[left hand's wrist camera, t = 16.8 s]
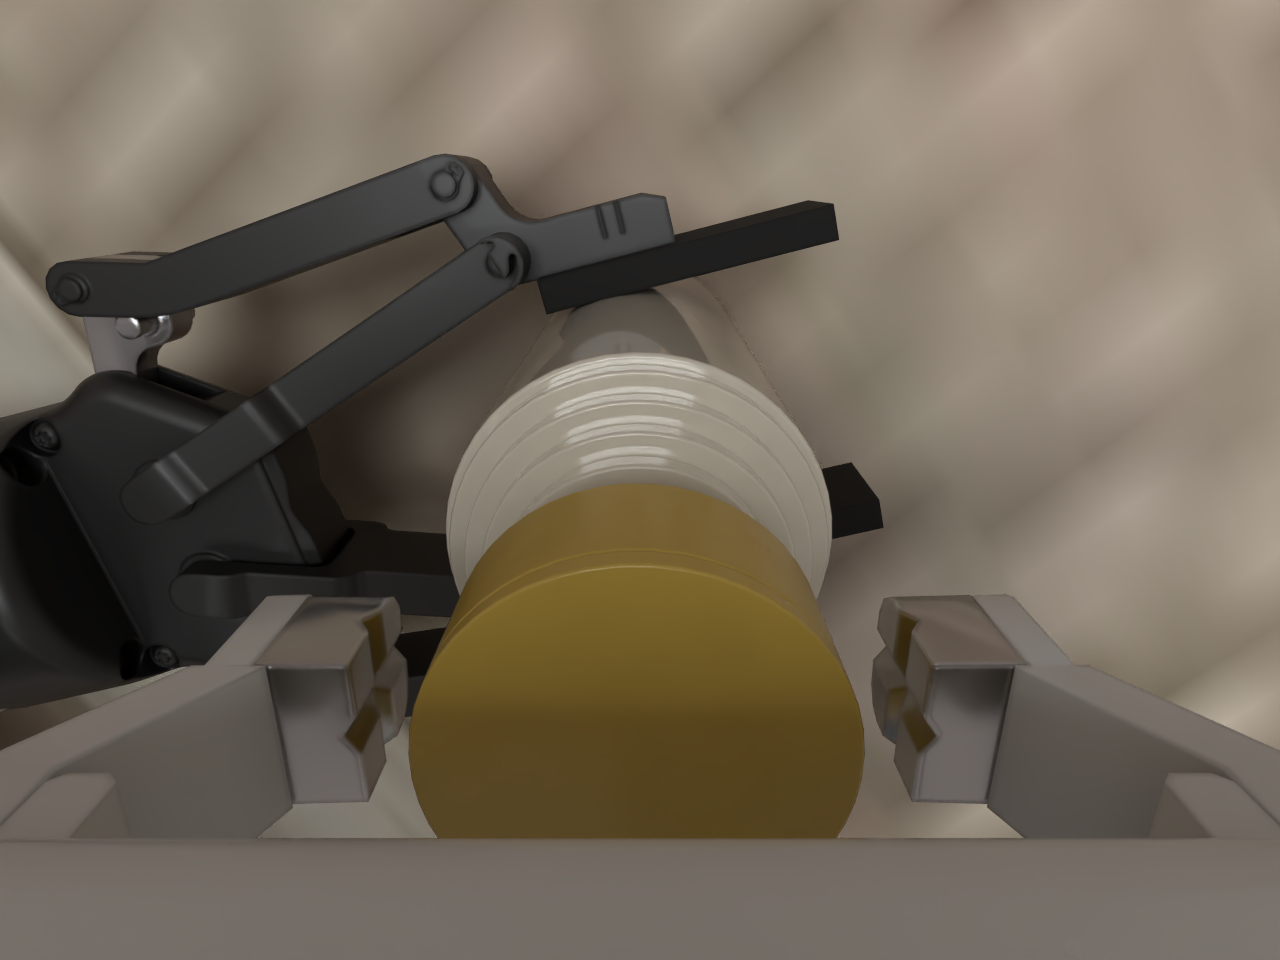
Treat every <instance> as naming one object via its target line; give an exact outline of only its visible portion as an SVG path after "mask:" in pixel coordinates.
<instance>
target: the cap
mask: <svg viewBox="0 0 1280 960" xmlns="http://www.w3.org/2000/svg"><path fill="white" fill-rule="evenodd" d="M864 756H865V748H864V728H863V724H862V719H861V714H860V709H859V705H858V702H857V699H856V697H855V694H854V692H853V689H852V686H851V684H850V681H849V679H848V676H847V674H846V671H845V669H844V667H843V664H842V662H841V659H840V657H839V654H838V652H837V650H836V647H835V645H834V642H833V640H832V637H831V635H830V632H829V630H828V628H827V625H826V623H825V620H824V618H823V615H822V613H821V611H820V608H819V606H818V603H817V601H816V598H815V596H814V593H813V591H812V589H811V586H810V584H809V582H808V580H807V578H806V576H805V575H804V573H803V571H802V569H801V568H800V566H799V564H798V563H797V561H796V560H795V559H794V557H793V556H792V555H791V554H790V552H789V551H788V550H787V548H786V547H785V546H784V545H783V544H782V543H781V542H780V541H779V540H778V539H777V538H776V537H775V536H774V535H773V534H772V533H771V532H770V531H769V530H768V529H767V528H765V527H764V526H763V525H761V524H760V523H758V522H757V521H756V520H754V519H753V518H752V517H750V516H749V515H747V514H746V513H744V512H742V511H740V510H738V509H737V508H735V507H733V506H731V505H729V504H727V503H725V502H723V501H720V500H718V499H715V498H713V497H710V496H708V495H705V494H702V493H699V492H695V491H691V490H687V489H683V488H679V487H674V486H665V485H657V484H617V485H609V486H601V487H595V488H591V489H587V490H583V491H580V492H576V493H572V494H569V495H567V496H564V497H562V498H559V499H557V500H554V501H552V502H549V503H547V504H545V505H543V506H542V507H540V508H538V509H536V510H534V511H533V512H531V513H529V514H527V515H526V516H524V517H523V518H522V519H520V520H519V521H518V522H516V523H515V524H514V525H512V526H511V527H509V528H508V529H507V530H506V531H505V532H504V533H503V534H502V535H501V536H500V537H499V538H498V539H497V540H496V541H495V542H494V543H493V544H492V545H491V546H490V547H489V548H488V549H487V551H486V552H485V553H484V555H483V556H482V557H481V559H480V560H479V561H478V562H477V564H476V566H475V567H474V569H473V571H472V573H471V575H470V576H469V578H468V580H467V582H466V584H465V586H464V588H463V591H462V593H461V595H460V598H459V600H458V602H457V604H456V607H455V609H454V611H453V614H452V616H451V618H450V621H449V623H448V625H447V627H446V630H445V632H444V634H443V637H442V639H441V641H440V643H439V646H438V648H437V650H436V653H435V655H434V657H433V660H432V662H431V664H430V667H429V669H428V671H427V673H426V676H425V678H424V680H423V683H422V685H421V688H420V691H419V693H418V696H417V699H416V701H415V704H414V708H413V713H412V718H411V724H410V729H409V761H410V769H411V776H412V781H413V785H414V788H415V791H416V795H417V798H418V801H419V804H420V806H421V808H422V810H423V813H424V815H425V817H426V819H427V821H428V823H429V825H430V827H431V828H432V830H433V831H434V833H435V834H436V836H437V837H438V838H837V836H838V834H839V833H840V831H841V830H842V828H843V827H844V825H845V823H846V821H847V819H848V817H849V814H850V812H851V810H852V808H853V806H854V804H855V801H856V797H857V794H858V790H859V787H860V783H861V779H862V773H863V764H864Z"/></svg>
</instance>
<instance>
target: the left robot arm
mask: <svg viewBox="0 0 1280 960" xmlns="http://www.w3.org/2000/svg"><path fill="white" fill-rule="evenodd" d="M402 629H403V627H402V620H401V614H400V608H399V604H398V603H397V601H396V600H395V598H394V597H383V596H329V595H315V596H312V595H311V594H304V595H274V596H267V597H266V598H265V599H264V600H263V601H262V602H261V603H260V605H259V606H258V607H257V608H256V609H255V610H254V611H253V612H252V613H251V614H250V616H249V617H248V618H247V619H246V620H245V621H244V622H243V623H242V624H241V626H240V627H239V628H238V629H237V630H236V631H235V632H234V633H233V634H232V636H231V637H230V638H229V639H228V640H227V641H226V642H225V643H224V644H223V645H222V647H221V648H220V649H219V650H218V651H217V652H216V653H215V654H214V655H213V657H212V658H211V659H210V660H209V661H208V662H207V663H206V664H205V665H191V666H189V667H186V668H184V669H182V670H180V671H177V672H175V673H173V674H171V675H168V676H166V677H164V678H162V679H159V680H157V681H155V682H153V683H151V684H148V685H146V686H144V687H142V688H139V689H137V690H135V691H133V692H130V693H128V694H126V695H124V696H121V697H119V698H117V699H115V700H112V701H110V702H108V703H106V704H103V705H101V706H99V707H97V708H94V709H92V710H90V711H88V712H85V713H83V714H81V715H79V716H76V717H74V718H72V719H70V720H67V721H65V722H63V723H61V724H58V725H56V726H54V727H52V728H49V729H47V730H45V731H43V732H40V733H38V734H36V735H34V736H31V737H29V738H27V739H25V740H23V741H20V742H18V743H16V744H14V745H11V746H9V747H7V748H5V749H2V750H0V960H1280V750H1277V749H1275V748H1273V747H1271V746H1268V745H1266V744H1264V743H1262V742H1259V741H1257V740H1255V739H1253V738H1250V737H1248V736H1246V735H1244V734H1241V733H1239V732H1237V731H1235V730H1232V729H1230V728H1228V727H1226V726H1224V725H1221V724H1219V723H1217V722H1215V721H1212V720H1210V719H1208V718H1206V717H1203V716H1201V715H1199V714H1197V713H1194V712H1192V711H1190V710H1188V709H1185V708H1183V707H1181V706H1179V705H1177V704H1174V703H1172V702H1170V701H1168V700H1165V699H1163V698H1161V697H1159V696H1156V695H1154V694H1152V693H1150V692H1147V691H1145V690H1143V689H1141V688H1138V687H1136V686H1134V685H1132V684H1129V683H1127V682H1125V681H1123V680H1121V679H1118V678H1116V677H1114V676H1112V675H1109V674H1107V673H1105V672H1103V671H1100V670H1098V669H1096V668H1094V667H1091V666H1089V665H1075V664H1074V663H1073V662H1072V661H1071V660H1070V659H1069V658H1068V656H1067V655H1066V654H1065V653H1064V652H1063V651H1062V650H1061V649H1060V648H1059V646H1058V645H1057V644H1056V643H1055V642H1054V641H1053V640H1052V639H1051V638H1050V636H1049V635H1048V634H1047V633H1046V632H1045V631H1044V630H1043V629H1042V628H1041V627H1040V625H1039V624H1038V623H1037V622H1036V621H1035V620H1034V619H1033V618H1032V617H1031V615H1030V614H1029V613H1028V612H1027V611H1026V610H1025V609H1024V608H1023V607H1022V606H1021V604H1020V603H1019V602H1018V601H1017V600H1016V599H1015V598H1014V597H1012V596H1009V595H1006V594H998V595H975V596H971V595H953V596H912V597H889V598H885V599H884V600H883V603H882V606H881V609H880V612H879V620H878V627H877V629H878V631H879V633H880V635H881V637H882V639H883V641H884V643H885V645H886V647H885V648H884V649H883V650H882V651H881V652H880V653H879V654H878V655H877V657H876V658H875V659H874V660H873V671H872V682H871V686H872V700H873V708H874V712H875V716H876V720H877V723H878V726H879V728H880V730H881V733H882V735H883V736H884V737H886V738H887V739H889V740H890V741H891V742H893V743H894V744H896V747H895V755H894V763H895V765H896V767H897V770H898V772H899V774H900V776H901V779H902V781H903V783H904V785H905V787H906V790H907V792H908V794H909V796H910V799H911V801H912V802H938V803H975V804H988V805H987V807H988V808H989V809H990V810H991V811H992V812H994V813H995V814H996V815H997V816H998V817H1000V818H1001V819H1002V820H1003V821H1004V822H1006V823H1007V824H1008V825H1009V826H1011V827H1012V828H1013V829H1014V830H1015V831H1017V832H1018V833H1019V834H1020V835H1021V836H1023V837H1024V838H257V837H258V836H259V835H260V834H261V833H263V832H264V831H265V830H266V829H268V828H269V827H270V826H271V825H272V824H274V823H275V822H276V821H277V820H278V819H280V818H281V817H282V816H283V815H284V814H286V813H287V812H288V811H289V810H291V809H292V808H293V805H292V804H305V803H340V802H368V801H369V799H370V797H371V795H372V792H373V790H374V788H375V786H376V783H377V781H378V779H379V777H380V774H381V772H382V770H383V768H384V765H385V763H386V754H385V746H384V744H386V743H387V742H389V741H390V740H392V739H393V738H394V737H396V736H397V735H398V733H399V731H400V728H401V726H402V723H403V721H404V717H405V712H406V706H407V701H408V678H409V677H408V668H407V660H406V659H405V658H404V656H403V655H402V654H401V653H400V652H399V651H398V650H397V649H396V648H395V647H394V645H395V643H396V641H397V639H398V637H399V635H400V633H401V631H402Z"/></svg>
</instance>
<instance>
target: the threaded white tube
mask: <svg viewBox="0 0 1280 960" xmlns="http://www.w3.org/2000/svg"><path fill="white" fill-rule="evenodd" d="M617 484H657V485H665V486H674V487H679V488H683V489H687V490H691V491H695V492H699V493H702V494H705V495H708V496H710V497H713V498H715V499H718V500H720V501H723V502H725V503H727V504H729V505H731V506H733V507H735V508H737V509H738V510H740V511H742V512H744V513H746V514H747V515H749V516H750V517H752V518H753V519H754V520H756V521H757V522H758V523H760V524H761V525H763V526H764V527H765V528H767V529H768V530H769V531H770V532H771V533H772V534H773V535H774V536H775V537H776V538H777V539H778V540H779V541H780V542H781V543H782V544H783V545H784V546H785V547H786V548H787V550H788V551H789V552H790V554H791V555H792V556H793V557H794V559H795V560H796V561H797V563H798V564H799V566H800V568H801V569H802V571H803V573H804V575H805V576H806V578H807V580H808V582H809V584H810V586H811V589H812V591H813V593H814V596H815V598H816V600H817V598H818V596H819V593H820V589H821V586H822V584H823V580H824V577H825V573H826V570H827V566H828V563H829V557H830V550H831V543H832V513H831V506H830V499H829V493H828V490H827V486H826V483H825V480H824V476H823V473H822V470H821V468H820V466H819V463H818V461H817V459H816V457H815V455H814V453H813V451H812V449H811V447H810V445H809V444H808V442H807V440H806V439H805V437H804V436H803V434H802V432H801V431H800V429H799V428H798V426H797V424H796V423H795V421H794V420H793V418H792V416H791V415H790V413H789V411H788V410H787V408H786V407H785V405H784V403H783V402H782V400H781V399H780V397H779V395H778V394H777V392H776V391H775V389H774V387H773V386H772V384H771V383H770V381H769V379H768V378H767V376H766V375H765V373H764V371H763V370H762V368H761V366H760V365H759V363H758V362H757V360H756V358H755V357H754V355H753V354H752V352H751V350H750V349H749V347H748V346H747V344H746V342H745V341H744V339H743V338H742V336H741V334H740V333H739V331H738V329H737V328H736V326H735V325H734V323H733V321H732V320H731V318H730V317H729V315H728V313H727V312H726V310H725V309H724V307H723V306H722V304H721V303H720V301H719V300H718V298H717V297H716V296H715V295H714V294H713V293H712V292H711V290H710V289H708V288H707V287H706V286H705V285H704V284H703V283H702V282H700V281H699V280H698V279H696V278H694V277H692V278H688V279H684V280H680V281H676V282H672V283H668V284H664V285H660V286H656V287H652V288H648V289H645V290H641V291H637V292H633V293H629V294H625V295H621V296H617V297H613V298H609V299H604V300H600V301H597V302H594V303H590V304H586V305H582V306H578V307H574V308H570V309H566V310H562V311H558V312H554V314H553V315H552V317H551V318H550V320H549V322H548V323H547V325H546V326H545V328H544V329H543V331H542V332H541V334H540V335H539V337H538V338H537V340H536V341H535V343H534V345H533V346H532V348H531V349H530V351H529V352H528V354H527V355H526V357H525V358H524V360H523V361H522V363H521V364H520V366H519V367H518V369H517V371H516V372H515V374H514V375H513V377H512V378H511V380H510V381H509V383H508V384H507V386H506V387H505V389H504V390H503V392H502V394H501V395H500V397H499V398H498V400H497V401H496V403H495V404H494V406H493V407H492V409H491V410H490V412H489V413H488V415H487V417H486V418H485V420H484V421H483V423H482V424H481V426H480V427H479V429H478V430H477V432H476V433H475V435H474V437H473V438H472V440H471V442H470V443H469V445H468V447H467V449H466V450H465V452H464V454H463V455H462V458H461V460H460V463H459V465H458V468H457V470H456V473H455V475H454V477H453V481H452V485H451V490H450V494H449V498H448V504H447V514H446V543H447V551H448V556H449V561H450V566H451V570H452V573H453V576H454V580H455V584H456V586H457V589H458V592H459V595H461V593H462V591H463V588H464V586H465V584H466V582H467V580H468V578H469V576H470V575H471V573H472V571H473V569H474V567H475V566H476V564H477V562H478V561H479V560H480V559H481V557H482V556H483V555H484V553H485V552H486V551H487V549H488V548H489V547H490V546H491V545H492V544H493V543H494V542H495V541H496V540H497V539H498V538H499V537H500V536H501V535H502V534H503V533H504V532H505V531H506V530H507V529H508V528H509V527H511V526H512V525H514V524H515V523H516V522H518V521H519V520H520V519H522V518H523V517H524V516H526V515H527V514H529V513H531V512H533V511H534V510H536V509H538V508H540V507H542V506H543V505H545V504H547V503H549V502H552V501H554V500H557V499H559V498H562V497H564V496H567V495H569V494H572V493H576V492H580V491H583V490H587V489H591V488H595V487H601V486H609V485H617Z"/></svg>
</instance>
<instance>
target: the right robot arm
mask: <svg viewBox="0 0 1280 960" xmlns="http://www.w3.org/2000/svg"><path fill="white" fill-rule="evenodd" d="M443 221H444V222H445V223H446V225H447V226H448V227H449V229H450V230H451V231H452V233H453V234H454V236H455V237H456V238H457V240H458V241H459V242H460V244H461V245H462V247H463V248H464V249H465V251H464V252H463V253H461V254H460V255H458V256H457V257H456V258H454V259H453V260H451V261H450V262H448V263H447V264H445V265H444V266H443V267H441V268H440V269H438V270H437V271H435V272H434V273H432V274H431V275H429V276H428V277H427V278H425V279H424V280H422V281H421V282H419V283H418V284H416V285H415V286H413V287H412V288H411V289H409V290H408V291H406V292H405V293H403V294H402V295H400V296H399V297H397V298H396V299H395V300H393V301H392V302H390V303H389V304H387V305H386V306H384V307H383V308H381V309H380V310H379V311H377V312H376V313H374V314H373V315H371V316H370V317H368V318H367V319H365V320H364V321H363V322H361V323H360V324H358V325H357V326H355V327H354V328H352V329H351V330H349V331H348V332H347V333H345V334H344V335H342V336H341V337H339V338H338V339H336V340H335V341H334V342H332V343H331V344H329V345H328V346H326V347H325V348H323V349H322V350H320V351H319V352H318V353H316V354H315V355H313V356H312V357H310V358H309V359H307V360H306V361H304V362H303V363H302V364H300V365H299V366H297V367H296V368H294V369H293V370H291V371H290V372H288V373H287V374H286V375H284V376H283V377H281V378H280V379H278V380H277V381H275V382H274V383H272V384H271V385H269V386H268V387H266V388H265V389H263V390H262V391H260V392H259V393H257V394H255V395H254V396H252V397H251V398H248V397H246V396H243V395H240V394H237V393H235V392H232V391H229V390H226V389H224V388H221V387H218V386H215V385H213V384H210V383H207V382H204V381H202V380H199V379H196V378H193V377H191V376H188V375H185V374H182V373H180V372H177V371H174V370H171V369H169V368H166V367H163V366H160V365H158V364H157V356H158V352H159V350H160V348H161V347H162V346H163V345H164V344H165V343H168V342H171V341H174V340H177V339H180V338H182V337H184V336H185V335H187V334H188V332H189V331H190V329H191V326H192V323H193V318H194V316H195V309H194V308H197V307H200V306H204V305H207V304H211V303H214V302H218V301H221V300H224V299H228V298H231V297H235V296H238V295H241V294H244V293H247V292H250V291H253V290H256V289H258V288H261V287H264V286H267V285H269V284H272V283H275V282H278V281H280V280H283V279H286V278H289V277H291V276H294V275H297V274H300V273H303V272H305V271H308V270H311V269H314V268H316V267H319V266H322V265H325V264H327V263H330V262H333V261H336V260H338V259H341V258H344V257H347V256H350V255H352V254H355V253H358V252H361V251H363V250H366V249H369V248H372V247H374V246H377V245H380V244H383V243H385V242H388V241H391V240H394V239H397V238H399V237H402V236H405V235H408V234H410V233H413V232H416V231H419V230H421V229H424V228H427V227H430V226H432V225H435V224H438V223H441V222H443ZM837 240H839V236H838V230H837V223H836V217H835V210H834V204H831V203H824V202H816V201H809V200H808V201H804V202H800V203H796V204H792V205H788V206H785V207H781V208H777V209H773V210H769V211H765V212H762V213H758V214H754V215H750V216H746V217H742V218H738V219H735V220H731V221H727V222H723V223H719V224H715V225H712V226H708V227H704V228H700V229H696V230H692V231H689V232H685V233H681V234H677V235H674V232H673V227H672V223H671V218H670V214H669V209H668V205H667V201H666V197H664V196H659V195H653V194H646V193H639V194H635V195H631V196H627V197H624V198H620V199H616V200H612V201H609V202H605V203H601V204H597V205H594V206H590V207H586V208H582V209H579V210H575V211H571V212H567V213H564V214H560V215H556V216H552V217H549V218H544V219H532V218H528V217H525V216H523V215H521V214H519V213H518V212H517V211H515V210H514V209H513V208H512V207H511V205H510V204H509V203H508V202H507V200H506V199H505V197H504V196H503V194H502V193H501V191H500V190H499V189H498V187H497V186H496V184H495V183H494V181H493V179H492V175H491V173H490V171H489V170H488V168H487V166H486V165H484V164H483V163H482V162H481V161H479V160H478V159H475V158H471V157H467V156H459V155H450V154H440V155H434V156H431V157H428V158H426V159H423V160H420V161H417V162H415V163H412V164H409V165H407V166H404V167H401V168H399V169H396V170H393V171H391V172H388V173H385V174H383V175H380V176H377V177H375V178H372V179H369V180H366V181H364V182H361V183H358V184H356V185H353V186H350V187H348V188H345V189H342V190H340V191H337V192H334V193H332V194H329V195H326V196H324V197H321V198H318V199H315V200H313V201H310V202H307V203H305V204H302V205H299V206H297V207H294V208H291V209H289V210H286V211H283V212H281V213H278V214H275V215H273V216H270V217H267V218H264V219H262V220H259V221H256V222H254V223H251V224H248V225H246V226H243V227H240V228H238V229H235V230H232V231H230V232H227V233H224V234H222V235H219V236H216V237H213V238H211V239H208V240H205V241H203V242H200V243H197V244H195V245H192V246H189V247H187V248H184V249H181V250H179V251H176V252H173V253H168V252H127V253H120V254H113V255H105V256H99V257H92V258H85V259H78V260H72V261H65V262H60V263H56V264H55V265H54V266H53V267H51V268H50V269H49V271H48V274H47V276H46V290H47V292H48V294H49V297H50V299H51V300H52V301H53V302H54V304H55V305H56V306H57V307H58V308H59V309H61V310H62V311H64V312H66V313H67V314H69V315H74V316H79V317H83V320H84V325H85V329H86V334H87V338H88V343H89V347H90V352H91V356H92V361H93V365H94V370H95V374H93V375H91V376H90V377H88V378H86V379H85V380H84V381H82V382H81V383H80V384H79V385H78V386H77V387H76V389H75V390H74V391H73V393H72V394H71V395H70V396H69V397H68V398H67V399H66V400H65V401H63V402H60V403H56V404H52V405H49V406H45V407H41V408H37V409H33V410H29V411H25V412H22V413H18V414H14V415H10V416H6V417H2V418H0V712H2V711H5V710H7V709H15V708H23V707H29V706H33V705H38V704H42V703H46V702H51V701H55V700H60V699H64V698H69V697H73V696H78V695H82V694H87V693H91V692H96V691H100V690H105V689H109V688H114V687H118V686H123V685H127V684H131V683H134V682H138V681H141V680H144V679H147V678H150V677H153V676H156V675H159V674H162V673H164V672H167V671H170V670H173V669H176V668H180V667H189V666H191V665H205V664H206V663H207V662H208V661H209V660H210V659H211V658H212V657H213V655H214V654H215V653H216V652H217V651H218V650H219V649H220V648H221V647H222V645H223V644H224V643H225V642H226V641H227V640H228V639H229V638H230V637H231V636H232V634H233V633H234V632H235V631H236V630H237V629H238V628H239V627H240V626H241V624H242V623H243V622H244V621H245V620H246V619H247V618H248V617H249V616H250V614H251V613H252V612H253V611H254V610H255V609H256V608H257V607H258V606H259V605H260V603H261V602H262V601H263V600H264V599H265V598H266V597H267V596H274V595H304V594H311V595H312V596H315V595H329V596H383V597H394V598H395V600H396V601H397V603H398V604H399V608H400V614H407V615H423V616H439V617H451V616H452V614H453V611H454V609H455V607H456V604H457V602H458V600H459V598H460V595H459V592H458V589H457V586H456V584H455V580H454V576H453V573H452V570H451V566H450V561H449V556H448V551H447V543H446V534H439V533H423V532H408V531H395V530H390V529H388V528H387V526H386V525H385V524H383V523H380V522H372V521H357V520H345V518H344V516H343V514H342V511H341V509H340V506H339V504H338V503H337V502H336V500H335V499H334V498H333V496H332V495H331V494H330V492H329V491H328V490H327V488H326V487H325V486H324V484H323V483H322V481H321V478H320V471H319V464H318V457H317V451H316V449H315V446H314V444H313V442H312V439H311V437H310V434H309V432H308V430H307V427H306V426H308V425H309V424H311V423H312V422H314V421H315V420H317V419H318V418H320V417H321V416H323V415H324V414H326V413H327V412H329V411H330V410H332V409H333V408H335V407H336V406H338V405H339V404H341V403H342V402H344V401H345V400H347V399H348V398H350V397H351V396H353V395H354V394H356V393H357V392H359V391H360V390H362V389H363V388H365V387H366V386H368V385H369V384H371V383H372V382H374V381H375V380H377V379H378V378H380V377H381V376H383V375H384V374H386V373H387V372H388V371H390V370H391V369H393V368H394V367H396V366H397V365H399V364H400V363H402V362H403V361H405V360H406V359H408V358H409V357H411V356H412V355H414V354H415V353H417V352H418V351H420V350H421V349H423V348H424V347H426V346H427V345H429V344H430V343H432V342H433V341H435V340H436V339H438V338H439V337H441V336H442V335H444V334H445V333H447V332H448V331H450V330H451V329H453V328H454V327H456V326H457V325H459V324H460V323H462V322H463V321H465V320H466V319H468V318H469V317H471V316H472V315H474V314H475V313H477V312H478V311H480V310H481V309H483V308H484V307H486V306H487V305H489V304H490V303H492V302H493V301H495V300H496V299H498V298H499V297H501V296H502V295H504V294H505V293H507V292H508V291H510V290H513V289H514V288H515V287H516V286H517V285H520V284H524V283H527V282H531V281H535V280H537V282H538V286H539V289H540V293H541V296H542V300H543V303H544V307H545V310H546V314H550V313H554V312H558V311H562V310H566V309H570V308H574V307H578V306H582V305H586V304H590V303H594V302H597V301H600V300H604V299H609V298H613V297H617V296H621V295H625V294H629V293H633V292H637V291H641V290H645V289H648V288H652V287H656V286H660V285H664V284H668V283H672V282H676V281H680V280H684V279H688V278H692V277H696V276H699V275H703V274H707V273H711V272H715V271H719V270H723V269H727V268H731V267H735V266H739V265H743V264H746V263H750V262H754V261H758V260H762V259H766V258H770V257H774V256H778V255H782V254H786V253H790V252H794V251H797V250H801V249H805V248H809V247H813V246H817V245H821V244H825V243H829V242H833V241H837ZM821 470H822V473H823V476H824V480H825V483H826V486H827V490H828V493H829V499H830V506H831V513H832V539H835V538H839V537H844V536H848V535H853V534H857V533H862V532H866V531H871V530H875V529H880V528H883V521H882V515H881V508H880V502H879V499H878V498H877V496H876V495H875V494H874V492H873V491H872V490H871V488H870V487H869V486H868V484H867V483H866V482H865V480H864V479H863V478H862V476H861V475H860V473H859V472H858V471H857V469H856V468H855V467H854V465H853V464H852V463H846V464H842V465H838V466H833V467H829V468H825V469H821ZM445 630H446V627H445V628H438V629H431V630H424V631H418V632H411V633H404V634H400V635H399V637H398V639H397V641H396V643H395V645H394V647H395V648H396V649H397V650H398V651H399V652H400V653H401V654H402V655H403V656H404V658H405V659H406V660H407V668H408V677H409V678H408V701H407V706H406V712H405V717H409V716H412V713H413V708H414V704H415V701H416V699H417V696H418V693H419V691H420V688H421V685H422V683H423V680H424V678H425V676H426V673H427V671H428V669H429V667H430V664H431V662H432V660H433V657H434V655H435V653H436V650H437V648H438V646H439V643H440V641H441V639H442V637H443V634H444V632H445Z"/></svg>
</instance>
